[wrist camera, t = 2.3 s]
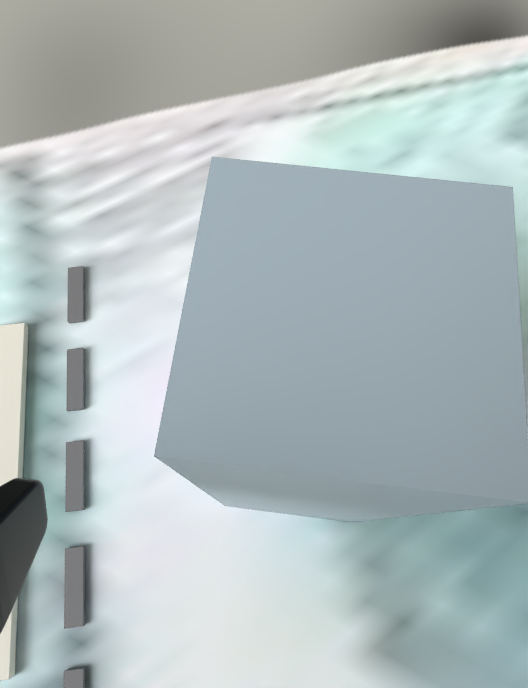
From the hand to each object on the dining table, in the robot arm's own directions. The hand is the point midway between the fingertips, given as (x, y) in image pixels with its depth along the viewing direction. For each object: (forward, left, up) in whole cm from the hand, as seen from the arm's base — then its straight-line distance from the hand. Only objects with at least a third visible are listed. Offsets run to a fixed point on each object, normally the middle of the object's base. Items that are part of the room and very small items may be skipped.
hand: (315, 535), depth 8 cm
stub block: (+1, -3, -10) cm, 10 cm away
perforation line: (+7, +2, -10) cm, 13 cm away
